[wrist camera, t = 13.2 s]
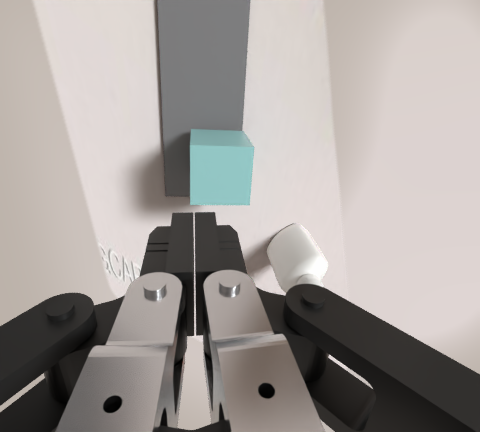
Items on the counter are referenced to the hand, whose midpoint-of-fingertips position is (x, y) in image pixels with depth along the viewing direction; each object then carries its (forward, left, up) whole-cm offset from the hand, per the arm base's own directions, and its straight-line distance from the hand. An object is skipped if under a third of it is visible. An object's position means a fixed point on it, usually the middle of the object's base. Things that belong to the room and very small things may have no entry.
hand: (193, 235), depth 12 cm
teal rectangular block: (+3, +2, -22) cm, 22 cm away
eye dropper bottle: (+14, +11, -24) cm, 30 cm away
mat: (-4, +1, -24) cm, 24 cm away
